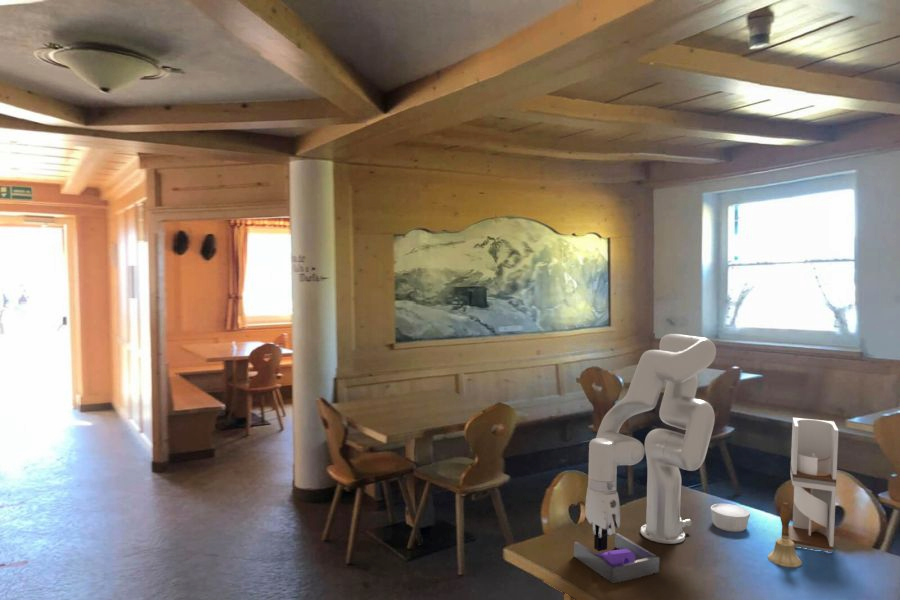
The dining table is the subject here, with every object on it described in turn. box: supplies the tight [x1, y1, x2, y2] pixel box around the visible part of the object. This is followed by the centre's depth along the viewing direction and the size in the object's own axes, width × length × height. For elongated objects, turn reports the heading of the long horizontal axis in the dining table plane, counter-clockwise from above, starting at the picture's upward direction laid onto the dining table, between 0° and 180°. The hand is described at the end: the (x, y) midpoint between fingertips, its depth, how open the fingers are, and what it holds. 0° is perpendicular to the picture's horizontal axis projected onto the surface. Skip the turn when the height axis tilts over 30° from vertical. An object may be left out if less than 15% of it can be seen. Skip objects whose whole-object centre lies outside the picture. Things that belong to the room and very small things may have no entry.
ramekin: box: [710, 503, 751, 533], centre depth 199 cm, size 11×11×5 cm
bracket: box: [595, 549, 636, 566], centre depth 171 cm, size 12×7×7 cm, turn 17°
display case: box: [788, 417, 839, 553], centre depth 186 cm, size 11×11×35 cm
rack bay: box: [573, 532, 660, 584], centre depth 172 cm, size 15×16×4 cm
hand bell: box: [767, 501, 803, 568], centre depth 175 cm, size 8×8×16 cm
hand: (600, 549), depth 178 cm, fingers closed
